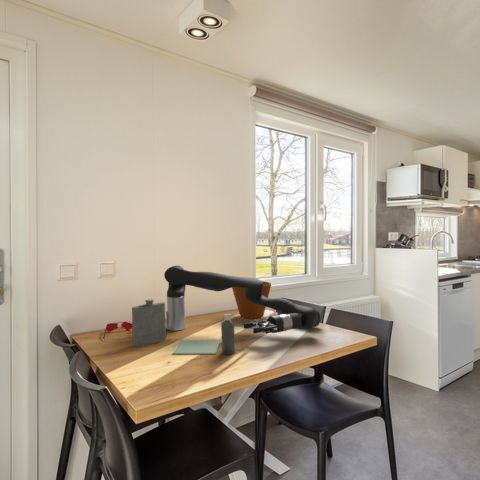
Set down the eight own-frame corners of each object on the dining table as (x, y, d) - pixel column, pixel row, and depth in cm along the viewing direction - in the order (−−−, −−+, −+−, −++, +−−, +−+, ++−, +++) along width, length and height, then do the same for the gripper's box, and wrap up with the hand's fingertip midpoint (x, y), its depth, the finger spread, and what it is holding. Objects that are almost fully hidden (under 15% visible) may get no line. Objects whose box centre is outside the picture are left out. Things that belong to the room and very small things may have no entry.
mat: (172, 354, 142) (172, 353, 142) (181, 341, 160) (181, 340, 160) (215, 354, 142) (215, 352, 142) (219, 340, 160) (219, 339, 160)
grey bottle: (221, 354, 141) (220, 315, 141) (222, 350, 146) (221, 312, 146) (234, 354, 141) (233, 315, 140) (235, 350, 146) (234, 312, 146)
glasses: (133, 329, 183) (133, 320, 183) (133, 338, 167) (133, 328, 167) (105, 332, 179) (105, 322, 179) (102, 341, 163) (102, 331, 163)
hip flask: (163, 338, 165) (162, 296, 165) (167, 340, 162) (166, 298, 162) (131, 345, 155) (130, 301, 155) (135, 347, 152) (134, 302, 152)
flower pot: (265, 323, 191) (264, 286, 191) (225, 320, 199) (225, 285, 199) (276, 313, 213) (275, 281, 213) (240, 311, 221) (239, 280, 221)
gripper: (271, 312, 162) (240, 316, 154) (289, 318, 149) (257, 323, 142) (271, 327, 162) (241, 333, 154) (289, 335, 149) (257, 341, 142)
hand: (248, 328), depth 148 cm, fingers open, 8 cm apart
